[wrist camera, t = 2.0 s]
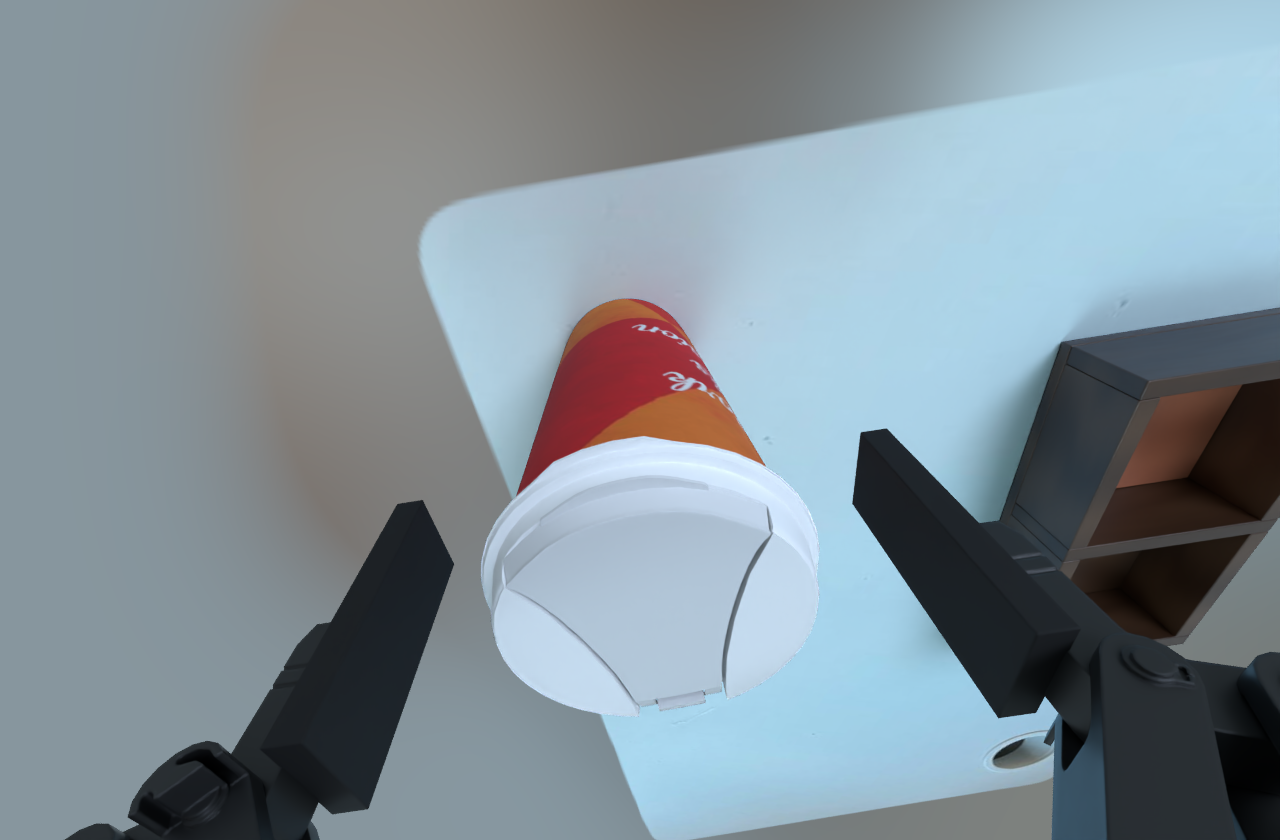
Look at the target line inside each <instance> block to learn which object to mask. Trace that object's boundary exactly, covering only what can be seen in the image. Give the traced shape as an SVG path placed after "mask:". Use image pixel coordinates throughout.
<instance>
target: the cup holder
mask: <svg viewBox="0 0 1280 840" xmlns="http://www.w3.org/2000/svg"><path fill="white" fill-rule="evenodd" d="M1277 518H1280V308H1275V309H1268V310H1262V311H1256V312H1249V313H1243V314H1237V315H1230V316H1224V317H1218V318H1211V319H1205V320H1199V321H1192V322H1186V323H1180V324H1173V325H1167V326H1160V327H1154V328H1148V329H1141V330H1135V331H1129V332H1122V333H1116V334H1110V335H1103V336H1097V337H1091V338H1084V339H1078V340H1072V341H1065V342H1062V344H1061V347H1060V350H1059V353H1058V356H1057V358H1056V361H1055V364H1054V367H1053V370H1052V373H1051V376H1050V379H1049V381H1048V384H1047V387H1046V390H1045V393H1044V396H1043V399H1042V401H1041V404H1040V407H1039V410H1038V413H1037V416H1036V419H1035V422H1034V424H1033V427H1032V430H1031V433H1030V436H1029V439H1028V442H1027V444H1026V447H1025V450H1024V453H1023V456H1022V459H1021V462H1020V465H1019V467H1018V470H1017V473H1016V476H1015V479H1014V482H1013V485H1012V488H1011V490H1010V493H1009V496H1008V499H1007V502H1006V505H1005V508H1004V510H1003V513H1002V516H1001V519H1000V522H1001V523H1003V524H1005V525H1007V526H1008V527H1010V528H1012V529H1014V530H1015V531H1017V532H1019V533H1021V534H1022V535H1024V536H1025V537H1026V538H1027V539H1028V540H1029V541H1030V542H1031V543H1032V544H1033V545H1034V546H1035V547H1036V548H1037V549H1038V550H1039V551H1041V552H1042V553H1041V554H1042V556H1046V557H1047V558H1048V559H1049V560H1050V561H1051V562H1052V563H1053V564H1054V565H1055V566H1056V567H1057V570H1058V571H1062V572H1063V573H1064V574H1065V575H1066V576H1067V577H1068V578H1069V579H1070V580H1071V581H1072V582H1073V583H1074V584H1075V585H1076V586H1078V587H1079V588H1080V589H1081V590H1082V591H1083V592H1084V593H1085V594H1086V595H1087V596H1088V597H1089V598H1090V599H1091V600H1092V601H1093V602H1094V603H1095V604H1097V605H1098V606H1099V607H1100V608H1101V609H1102V610H1103V611H1104V612H1105V613H1106V614H1107V615H1108V616H1109V617H1110V618H1111V619H1112V620H1113V621H1114V622H1116V623H1117V624H1118V625H1119V626H1120V627H1121V628H1122V629H1124V630H1125V631H1126V632H1127V633H1131V634H1136V635H1140V636H1144V637H1147V638H1150V639H1152V640H1154V641H1157V642H1159V643H1161V644H1163V645H1166V646H1171V645H1177V644H1183V643H1184V642H1185V640H1186V639H1187V638H1188V636H1189V635H1190V634H1191V633H1192V631H1193V630H1194V629H1195V627H1196V626H1197V625H1198V623H1199V622H1200V621H1201V620H1202V618H1203V617H1204V616H1205V614H1206V613H1207V612H1208V610H1209V609H1210V608H1211V606H1212V605H1213V604H1214V602H1215V601H1216V600H1217V599H1218V597H1219V596H1220V595H1221V593H1222V592H1223V591H1224V589H1225V588H1226V587H1227V585H1228V584H1229V583H1230V582H1231V580H1232V579H1233V578H1234V576H1235V575H1236V574H1237V572H1238V571H1239V570H1240V568H1241V567H1242V566H1243V564H1244V563H1245V562H1246V561H1247V559H1248V558H1249V557H1250V555H1251V554H1252V553H1253V551H1254V550H1255V549H1256V548H1257V546H1258V545H1259V543H1260V542H1261V541H1262V540H1263V538H1264V537H1265V536H1266V534H1267V533H1268V531H1269V530H1270V529H1271V527H1272V526H1273V525H1274V523H1275V522H1276V521H1277Z"/></svg>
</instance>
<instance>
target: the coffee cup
mask: <svg viewBox="0 0 1280 840" xmlns="http://www.w3.org/2000/svg"><path fill="white" fill-rule="evenodd" d="M818 559H819V542H818V534H817V529H816V526H815V524H814V521H813V519H812V516H811V513H810V511H809V509H808V508H807V507H806V505H805V504H804V502H803V501H802V499H801V498H800V496H799V495H798V493H797V492H796V491H795V490H794V489H793V488H792V487H791V486H790V485H789V484H788V483H787V482H786V481H785V480H784V479H782V478H781V477H780V476H779V475H777V474H776V473H774V472H773V471H771V470H770V469H768V468H766V466H765V464H764V463H763V461H762V459H761V458H760V456H759V454H758V453H757V451H756V449H755V448H754V446H753V444H752V443H751V441H750V439H749V438H748V436H747V434H746V432H745V431H744V429H743V427H742V426H741V424H740V422H739V421H738V419H737V417H736V416H735V414H734V412H733V411H732V409H731V407H730V406H729V404H728V402H727V401H726V399H725V397H724V396H723V394H722V392H721V391H720V389H719V387H718V386H717V384H716V382H715V381H714V379H713V377H712V376H711V374H710V372H709V371H708V369H707V367H706V366H705V364H704V363H703V361H702V359H701V358H700V356H699V354H698V353H697V351H696V350H695V348H694V346H693V345H692V343H691V341H690V340H689V338H688V337H687V335H686V334H685V332H684V331H683V329H682V328H681V327H680V325H679V324H678V323H677V322H676V320H675V319H674V318H673V317H672V316H671V315H670V314H669V313H667V312H666V311H665V310H663V309H662V308H660V307H658V306H656V305H654V304H652V303H649V302H646V301H643V300H638V299H618V300H613V301H609V302H606V303H604V304H601V305H599V306H597V307H596V308H594V309H592V310H591V311H590V312H588V313H587V314H586V315H585V316H584V317H583V318H582V319H581V320H580V321H579V322H578V324H577V325H576V326H575V328H574V330H573V331H572V333H571V335H570V337H569V340H568V342H567V345H566V347H565V350H564V352H563V355H562V358H561V361H560V364H559V367H558V370H557V373H556V376H555V379H554V382H553V385H552V388H551V391H550V394H549V397H548V400H547V403H546V406H545V409H544V412H543V415H542V418H541V421H540V424H539V428H538V431H537V434H536V437H535V440H534V443H533V446H532V449H531V452H530V455H529V459H528V462H527V465H526V468H525V471H524V474H523V477H522V480H521V483H520V486H519V489H518V492H517V495H516V497H515V498H514V499H512V501H511V502H510V503H509V504H508V506H507V507H506V508H505V509H504V511H503V512H502V513H501V514H500V516H499V517H498V518H497V520H496V522H495V524H494V526H493V528H492V530H491V532H490V534H489V536H488V538H487V540H486V544H485V548H484V552H483V556H482V560H481V582H482V587H483V591H484V596H485V599H486V601H487V604H488V607H489V609H490V611H491V624H492V629H493V634H494V638H495V642H496V644H497V646H498V648H499V650H500V652H501V655H502V657H503V659H504V661H505V662H506V663H507V665H508V666H509V667H510V668H511V670H512V671H513V672H514V674H515V675H517V676H518V677H519V678H520V679H521V680H522V681H523V682H525V683H526V684H527V685H528V686H530V687H531V688H533V689H535V690H536V691H538V692H539V693H541V694H542V695H544V696H546V697H548V698H550V699H553V700H555V701H557V702H559V703H561V704H564V705H567V706H571V707H574V708H577V709H580V710H585V711H589V712H594V713H599V714H606V715H615V716H634V717H639V712H640V708H639V705H640V706H641V707H644V706H650V705H655V704H658V707H659V711H665V710H670V709H676V708H681V707H686V706H692V705H697V704H703V703H705V697H704V695H708V694H714V693H719V692H722V682H723V684H724V688H725V692H726V697H727V700H729V699H731V698H734V697H736V696H738V695H741V694H743V693H745V692H747V691H749V690H751V689H752V688H754V687H756V686H758V685H760V684H762V683H763V682H764V681H766V680H767V679H769V678H770V677H772V676H773V675H774V674H776V673H777V672H778V671H780V670H781V669H782V668H783V667H784V666H785V665H786V664H787V663H788V662H789V661H791V660H792V658H793V657H794V656H795V655H796V654H797V652H798V651H799V650H800V649H801V648H802V646H803V645H804V643H805V641H806V640H807V638H808V636H809V634H810V633H811V631H812V628H813V625H814V622H815V619H816V616H817V611H818V601H819V586H818V579H817V568H818ZM703 690H705V692H703ZM656 699H657V700H658V701H657V700H656Z"/></svg>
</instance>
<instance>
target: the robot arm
mask: <svg viewBox="0 0 1280 840" xmlns="http://www.w3.org/2000/svg"><path fill="white" fill-rule="evenodd" d="M852 504H853V505H854V507H855V508H856V510H857V511H858V513H859V514H860V515H861V517H862V518H863V520H864V521H865V523H866V524H867V526H868V527H869V529H870V530H871V532H872V533H873V535H874V536H875V537H876V539H877V540H878V542H879V543H880V545H881V546H882V548H883V549H884V551H885V552H886V554H887V555H888V557H889V558H890V560H891V561H892V562H893V564H894V565H895V567H896V568H897V570H898V571H899V573H900V574H901V576H902V577H903V579H904V580H905V582H906V583H907V585H908V586H909V587H910V589H911V590H912V592H913V593H914V595H915V596H916V598H917V599H918V601H919V602H920V604H921V605H922V607H923V608H924V609H925V611H926V612H927V614H928V615H929V617H930V618H931V620H932V621H933V623H934V624H935V626H936V627H937V629H938V630H939V632H940V633H941V634H942V636H943V637H944V639H945V640H946V642H947V643H948V645H949V646H950V648H951V649H952V651H953V652H954V654H955V655H956V657H957V658H958V659H959V661H960V662H961V664H962V665H963V667H964V668H965V670H966V671H967V673H968V674H969V676H970V677H971V679H972V680H973V681H974V683H975V684H976V686H977V687H978V689H979V690H980V692H981V693H982V695H983V696H984V698H985V699H986V701H987V702H988V704H989V705H990V706H991V708H992V709H993V711H994V712H995V714H996V715H997V717H998V718H1003V717H1010V716H1017V715H1024V714H1031V713H1036V712H1037V710H1038V708H1039V706H1040V704H1041V703H1042V701H1043V699H1044V697H1046V698H1047V699H1048V700H1049V702H1050V703H1051V704H1052V706H1053V707H1054V708H1055V709H1056V711H1057V712H1058V713H1059V714H1058V715H1057V717H1056V719H1055V721H1054V722H1053V724H1052V726H1051V727H1050V729H1049V731H1048V733H1047V735H1046V737H1045V740H1044V743H1046V744H1048V745H1050V746H1051V744H1052V743H1053V741H1054V740H1055V743H1054V777H1053V780H1054V781H1053V813H1052V814H1053V815H1052V840H1280V653H1276V652H1269V653H1265V654H1262V655H1259V656H1257V657H1256V658H1255V659H1254V660H1253V661H1252V663H1251V664H1250V665H1249V666H1248V667H1247V668H1242V667H1235V666H1228V665H1221V664H1214V663H1207V662H1200V661H1192V660H1188V659H1185V658H1183V657H1182V656H1181V655H1179V654H1178V653H1176V652H1174V651H1173V650H1172V649H1170V648H1169V647H1167V646H1166V645H1163V644H1161V643H1159V642H1157V641H1154V640H1152V639H1150V638H1147V637H1144V636H1140V635H1136V634H1131V633H1127V632H1126V631H1125V630H1124V629H1122V628H1121V627H1120V626H1119V625H1118V624H1117V623H1116V622H1114V621H1113V620H1112V619H1111V618H1110V617H1109V616H1108V615H1107V614H1106V613H1105V612H1104V611H1103V610H1102V609H1101V608H1100V607H1099V606H1098V605H1097V604H1095V603H1094V602H1093V601H1092V600H1091V599H1090V598H1089V597H1088V596H1087V595H1086V594H1085V593H1084V592H1083V591H1082V590H1081V589H1080V588H1079V587H1078V586H1076V585H1075V584H1074V583H1073V582H1072V581H1071V580H1070V579H1069V578H1068V577H1067V576H1066V575H1065V574H1064V573H1063V572H1062V571H1058V570H1057V567H1056V566H1055V565H1054V564H1053V563H1052V562H1051V561H1050V560H1049V559H1048V558H1047V557H1046V556H1042V554H1041V553H1042V552H1041V551H1039V550H1038V549H1037V548H1036V547H1035V546H1034V545H1033V544H1032V543H1031V542H1030V541H1029V540H1028V539H1027V538H1026V537H1025V536H1024V535H1022V534H1021V533H1019V532H1017V531H1015V530H1014V529H1012V528H1010V527H1008V526H1007V525H1005V524H1003V523H1001V522H1000V521H992V522H986V523H978V522H977V521H976V520H975V519H974V518H973V517H972V516H971V515H970V514H969V513H968V511H967V510H966V509H965V508H964V507H963V506H962V505H961V504H960V503H959V502H958V501H957V500H956V499H955V498H954V497H953V496H952V495H951V494H950V493H949V492H948V491H947V490H946V489H945V488H944V487H943V486H942V485H941V484H940V483H939V482H938V481H937V480H936V479H935V478H934V477H933V476H932V475H931V474H930V472H929V471H928V470H927V469H926V468H925V467H924V466H923V465H922V464H921V463H920V462H919V461H918V460H917V459H916V458H915V457H914V456H913V455H912V454H911V453H910V452H909V451H908V450H907V449H906V448H905V447H904V446H903V445H902V444H901V443H900V442H899V441H898V440H897V439H896V438H895V437H894V436H893V435H892V433H891V432H890V431H889V430H888V429H880V430H874V431H867V432H861V434H860V443H859V451H858V460H857V468H856V477H855V486H854V494H853V503H852ZM453 566H454V563H453V561H452V559H451V557H450V555H449V553H448V551H447V549H446V547H445V545H444V543H443V541H442V539H441V536H440V535H439V532H438V530H437V528H436V526H435V525H434V522H433V520H432V518H431V516H430V514H429V512H428V510H427V508H426V506H425V504H424V502H423V500H420V501H414V502H407V503H401V504H397V506H396V508H395V509H394V511H393V513H392V515H391V516H390V518H389V520H388V522H387V524H386V525H385V527H384V529H383V531H382V532H381V534H380V536H379V538H378V539H377V541H376V543H375V545H374V547H373V549H372V550H371V552H370V554H369V555H368V557H367V559H366V561H365V563H364V564H363V566H362V568H361V570H360V571H359V573H358V575H357V577H356V579H355V580H354V582H353V584H352V586H351V588H350V589H349V591H348V593H347V595H346V596H345V598H344V600H343V602H342V603H341V605H340V607H339V609H338V611H337V612H336V614H335V616H334V618H333V619H332V621H331V622H330V623H323V624H317V625H316V626H315V627H314V628H313V629H312V630H311V631H310V632H309V633H308V635H306V636H305V637H304V638H303V639H302V640H301V642H300V643H299V644H298V645H297V646H296V648H295V649H294V651H293V653H292V654H291V656H290V658H289V659H288V661H287V663H286V664H285V666H284V671H281V673H280V674H279V676H278V678H277V679H276V681H275V683H274V684H273V689H272V690H270V691H269V693H268V694H267V696H266V697H265V699H264V701H263V703H262V704H261V706H260V707H259V709H258V711H257V712H256V714H255V716H254V717H253V719H252V721H251V722H250V724H249V726H248V727H247V729H246V731H245V732H244V734H243V735H242V737H241V739H240V740H239V742H238V744H237V745H236V747H235V749H234V750H233V752H232V754H230V753H229V752H228V751H227V750H225V749H224V748H223V747H222V746H221V745H220V744H218V743H215V742H210V741H205V742H201V743H197V744H194V745H191V746H190V747H188V748H186V749H184V750H182V751H180V752H178V753H177V754H175V755H174V756H173V757H171V758H170V759H169V760H167V762H165V763H164V764H162V765H161V766H160V767H159V768H158V769H157V770H156V771H155V772H154V773H153V774H152V775H151V776H150V777H149V778H148V779H147V781H146V782H145V783H144V784H143V785H142V787H141V788H140V790H139V791H138V793H137V795H136V796H135V798H134V799H133V801H132V804H131V807H130V811H129V814H128V818H130V819H131V820H133V821H135V822H136V823H138V824H139V825H137V826H135V827H133V828H131V829H128V830H126V831H124V832H121V831H119V830H118V829H116V828H115V827H113V826H111V825H109V824H94V825H91V826H89V827H86V828H84V829H81V830H79V831H77V832H76V833H74V834H73V835H71V836H70V837H68V838H67V839H65V840H319V836H318V832H317V829H316V828H315V826H314V825H313V823H312V822H311V819H312V816H313V814H314V812H315V809H316V807H317V805H318V802H319V803H320V804H321V805H323V806H324V807H325V808H326V809H327V810H328V811H329V812H330V813H331V814H337V813H345V812H351V811H358V810H365V809H368V808H369V805H370V802H371V800H372V797H373V794H374V791H375V788H376V785H377V782H378V780H379V777H380V774H381V771H382V768H383V765H384V763H385V760H386V757H387V754H388V751H389V748H390V745H391V742H392V740H393V737H394V734H395V731H396V728H397V725H398V723H399V720H400V717H401V714H402V711H403V708H404V705H405V703H406V700H407V697H408V694H409V691H410V688H411V685H412V683H413V680H414V677H415V674H416V671H417V668H418V665H419V663H420V660H421V657H422V654H423V651H424V648H425V646H426V643H427V640H428V637H429V634H430V631H431V629H432V626H433V623H434V620H435V617H436V614H437V611H438V609H439V605H440V603H441V600H442V597H443V594H444V591H445V589H446V586H447V583H448V580H449V577H450V574H451V571H452V569H453Z"/></svg>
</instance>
